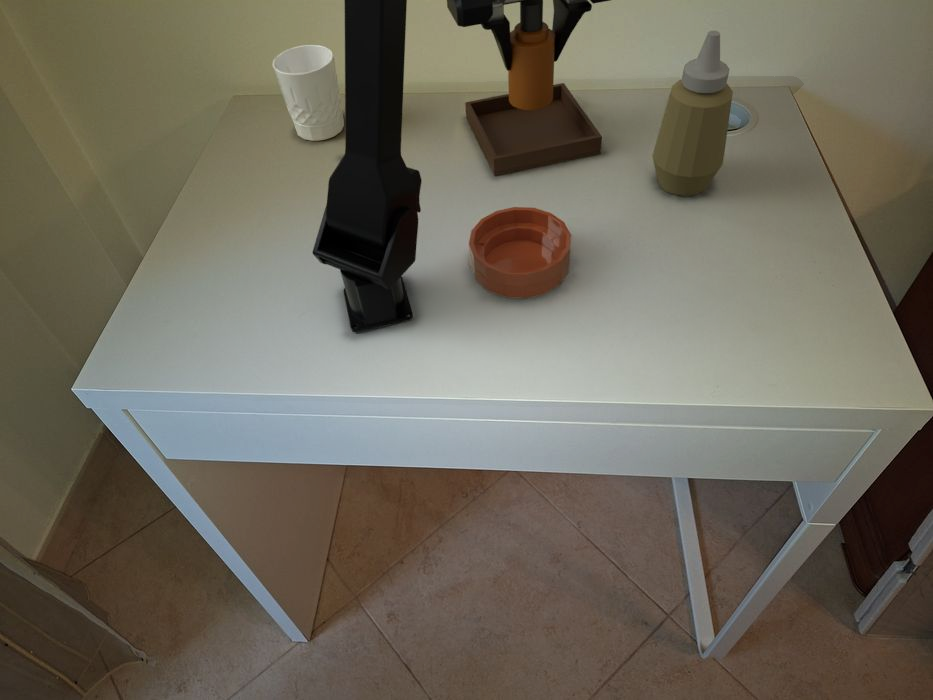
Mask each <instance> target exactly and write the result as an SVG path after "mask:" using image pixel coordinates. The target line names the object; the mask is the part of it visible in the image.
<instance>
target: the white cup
mask: <svg viewBox="0 0 933 700" xmlns="http://www.w3.org/2000/svg"><path fill="white" fill-rule="evenodd" d="M272 68H273V71H274V74H275V77H276V80H277V83H278V85H279V88H280V92H281V94H282V98H283V100H284V103H285V105H286V108H287V110H288V113H289V116H290V117H291V119H292V123H293V126H294V128H295V131H296V134H297V136H298V137H300V138H301V139H302V140H306V141H311V142H316V141H317V142H318V141H319V142H320V141H326V140H328V139H331V138H333V137H335V136H337V135H339V133H341V132H342V131H343V129H344V128H345V118H344V114H343V109H342V97H341V90H340V84H339V79H338V74H337V68H336V62H335V56H334V52H333V51H332V50H331V49H330V48H329V47H327V46H323V45H318V44H303V45H302V44H301V45H297V46H294V47H290V48H287V49H286V50H284V51H281V52H280V53H278V54H277V55H276V56H275V57H274V59H273V61H272Z"/></svg>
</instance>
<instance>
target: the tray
mask: <svg viewBox="0 0 933 700" xmlns="http://www.w3.org/2000/svg"><path fill="white" fill-rule="evenodd" d="M464 105H465V106H464V107H465V117H466V118H465V119H466V121H467V123H468V125H469V127H470V129H471V131H472V133H473V135H474V138H475V139H476V141H477V144H478V146H479V148H480V150H481V152H482V154H483V156H484V158H485V160H486V162H487V164H488V166H489V168H490V171H491V172H492V175H493V176H494V177H497V176H501V175H506V174H511V173H516V172H521V171H525V170H530V169H534V168H540V167H543V166H549V165H553V164H558V163H563V162H569V161H573V160H578V159H582V158H587V157H591V156H596V155H599V154H601V153H602V143H603V135H602V134H601V133H600V131H599V130H598V129H597V127H596V126H595V124H594V123H593V122H592V120H591V118H590V117H589V116H588V114H586V111H585V110H584V109H583V108H582V106H581V105H580V104H579V102H578V100H577V99H576V98H575V97H574V95H573V94H572V92H571V91H570V90H569V88H568V87H567V85H566V84H565V83H564V82H561V83H557V84H553V100H552V102H551V103H550V104H549V105H548V106H546V107H544V108H541V109H538V110H522V109H518V108H516V107H514V106H512V105H511V104H510V102H509V93H506V94H501V95H495V96H490V97H485V98H480V99H475V100H471V101H469V100H468V101H465V102H464Z"/></svg>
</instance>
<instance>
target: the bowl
mask: <svg viewBox="0 0 933 700" xmlns="http://www.w3.org/2000/svg"><path fill="white" fill-rule="evenodd" d="M571 244H572V233H571V232H570V230H569V228H568V226H567V225H566V223H565V221H564V220H562V219H561V218H559V217H558V216H556V214H554V213H552V212H549V211H546V210H543V209H540V208H536V207H530V206H529V207H528V206H527V207H526V206H525V207H524V206H512V207H508V208H504V209H499V210H495V211H493V212H491V213H490V214H488V215H486V216H484V217H482V218H480V219H479V221H478V222H477V223H476V224H475V225H474V227H473V228H472V229H471V231H470V235H469V240H468V250H469V251H468V253H469V263H470V270H471V272H472V274H473V277H474V280H475V281H476V282H477V283H478V284H479V285H480V286H481V287H482V288H484V289H485V290H486V291H488V292H490V293H492V294H496V295H498V296H501V297H504V298H511V299H512V298H513V299H530V298H533V297H534V298H535V297H538V296H542V295H546V294H547V293H549V292H551V291H552V290H555V289H556V288H557V287H560V285H562V283H563V281H564V280H565V279H566V277H567V276H568V274H569V272H570V260H571V258H570V257H571Z"/></svg>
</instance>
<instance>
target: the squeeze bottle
mask: <svg viewBox="0 0 933 700" xmlns="http://www.w3.org/2000/svg"><path fill="white" fill-rule="evenodd" d="M729 73H730V67H729V65H727V63H725V62H724V61H722V60H721V32H720V31H718V30H709V31H708V32H707V34H706V36H705V39H704V41H703V43H702V46H701V49H700V50H699V52H698V54H697V58H694V59H691V60H688V61H687V62H686V63H685V64H684V66H683V69H682V75H681V79H678V80H677V81H676V82H675V83H674V84H673V85H671V88H670V92H669V96H668V99H667V102H666V106H665V110H664V113H663V115H662V116H663V117H662V120H661V124H660V127H659V131H658V134H657V137H656V141H655V144H654V148H653V152H652V161H653V165H654V170H655V175H656V179H657V183H658V185H659V187H661V188H662V189H663V190H664V191H665V192H668V193H670V194H672V195H676V196H682V197H688V196H695V195H699V194H700V193H703V192H704V191H705V190H706V189H707V188H708V186H709V185H710V183H712V180H713V179H714V178H715V176H716V175H717V174H718V172H719V171H720V169H721V168H722V166H723V165H724V160H725V159H724V158H725V151H726V144H727V137H728V130H729V123H730V116H731V108H732V103H733V94H734V91H733V90H732V88H731V86H730V85H729V84H728V83H727V82H728V78H729V75H730V74H729Z"/></svg>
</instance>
